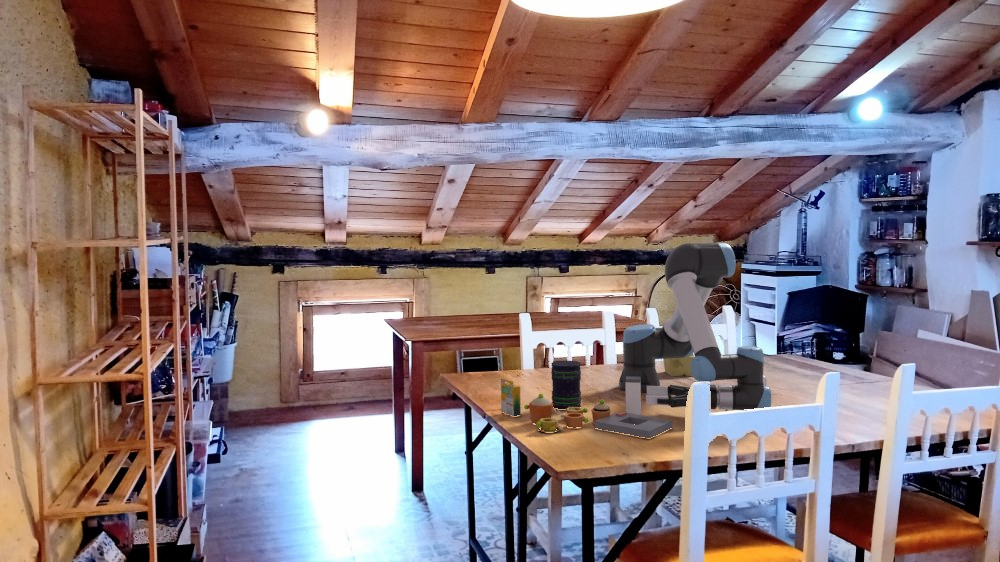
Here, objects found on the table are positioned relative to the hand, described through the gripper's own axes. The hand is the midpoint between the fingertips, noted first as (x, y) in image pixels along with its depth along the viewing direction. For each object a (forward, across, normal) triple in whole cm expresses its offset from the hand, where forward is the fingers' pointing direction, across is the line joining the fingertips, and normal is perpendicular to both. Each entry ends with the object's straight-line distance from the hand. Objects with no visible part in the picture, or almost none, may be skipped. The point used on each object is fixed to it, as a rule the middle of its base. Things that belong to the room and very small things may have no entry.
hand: (646, 394), depth 215 cm
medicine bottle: (-36, +35, -7) cm, 51 cm away
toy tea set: (+23, -12, -7) cm, 27 cm away
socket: (+3, -15, -7) cm, 17 cm away
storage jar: (+26, +8, -7) cm, 28 cm away
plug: (+4, +1, -7) cm, 8 cm away
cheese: (-12, +70, -7) cm, 72 cm away
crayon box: (+43, -5, -7) cm, 43 cm away
